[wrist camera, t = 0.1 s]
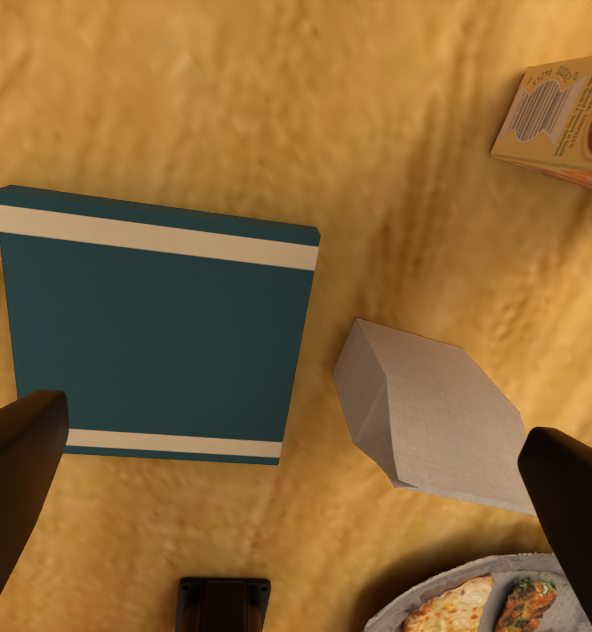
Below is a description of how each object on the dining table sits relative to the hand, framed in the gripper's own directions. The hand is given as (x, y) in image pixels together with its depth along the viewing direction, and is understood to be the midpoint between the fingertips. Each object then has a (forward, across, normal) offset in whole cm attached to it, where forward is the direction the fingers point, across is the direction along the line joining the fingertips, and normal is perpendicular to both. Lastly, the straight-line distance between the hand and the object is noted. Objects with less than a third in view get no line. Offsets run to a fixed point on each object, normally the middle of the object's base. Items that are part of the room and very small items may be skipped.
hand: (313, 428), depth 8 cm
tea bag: (+15, -8, +6) cm, 18 cm away
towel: (+15, +5, +6) cm, 17 cm away
